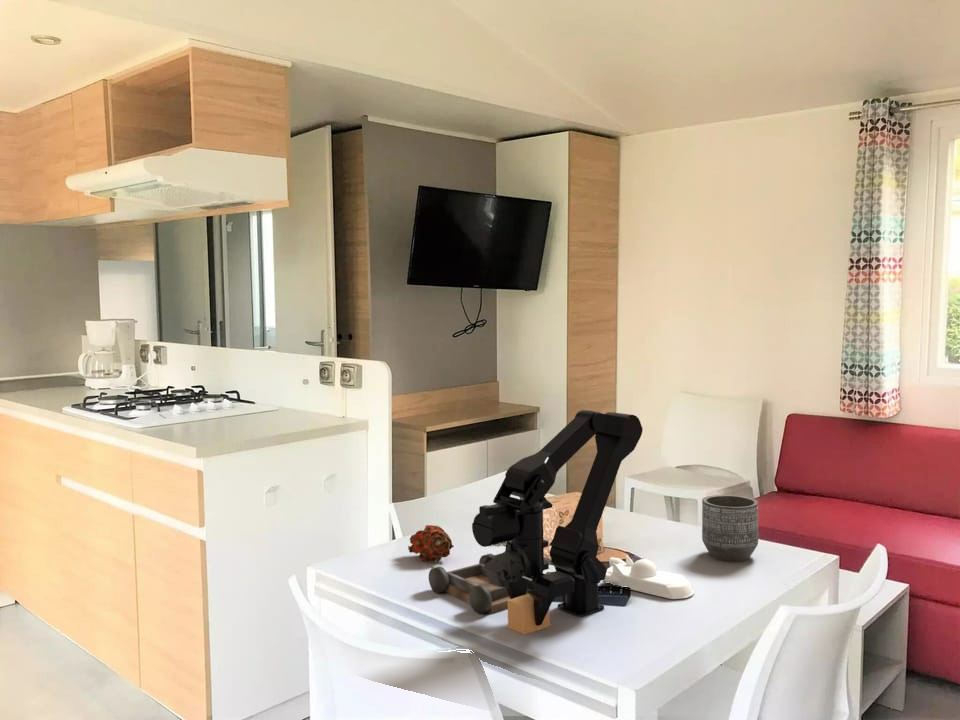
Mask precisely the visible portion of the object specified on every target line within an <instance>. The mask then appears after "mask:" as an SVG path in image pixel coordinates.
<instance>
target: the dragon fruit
mask: <svg viewBox="0 0 960 720" xmlns="http://www.w3.org/2000/svg"><path fill="white" fill-rule="evenodd" d="M409 543H410V544H411V545H408V546H407V547H408V552H409V553H414V554H416V555H417V554H419V559H420V560H421V561H422V562H425V561H424V560H426V561H428V560H430V561H431V562H441V560H442V558H447V557H448V556H449V555H451V549H453V548H454V547H455V546H454V545H453V542H452V539H451V537H450V536H449V534H448V533H447V532H446V531H445V530H444V529H443V528H442V527H441V526H439V525H432V524H426V525H425V526H424V529H421V530H418V531H416V532H415V533H414V534H412V535H411V536H410V538H409Z"/></svg>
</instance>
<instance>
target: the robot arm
mask: <svg viewBox="0 0 960 720" xmlns="http://www.w3.org/2000/svg"><path fill="white" fill-rule="evenodd" d="M642 434H643V425H642V424H641V420H640V418H639V417H638V416H637V415H635V414H630V413H623V412H616V411H615V412H613V411H607V412H606V413H601V412H599V411H597V410H588V409H582V410H579V411H577V412H576V413H575V415H574V418H573V419H572V420H571V421H570V422H569V423H568V424H566V426H564V427H563V428H562V429H561V430H560V431H559V432H558V433H557V434H555V436H554V437H553V438H552V439H550V440H549V442H547V443H546V444H545V446H543V447H542V448H541V449H540V450H539V451H538V452H535V453H534V454H532V455H531V454H530V455H529V456H526V457H523V458H521V459H520V460H518V461H516V462H515V463H513V464H512V465H511V466H509V468H508V469H507V470H506V472H505V475H504V479H503V481H502V483H501V485H500V487H499V489H498V491H497V493H496V494H495V497H494V499H493V501H492V502H493V504H490V505H487V504H486V505H481V506H479V508H478V509H479V513H477V514H476V515H475V516H474V518H473V521H472V524H471V528H472V535H473V537H474V540H475V541H476V543H478V545H479V546H480V547H484V548H485V547H491V546H494V545H497V544H498V545H499V544H502V543H505V548H504V549H505V550H504V551H503V552H501V553H497V554H493V556H489V557H488V558H487V560H486V561H485V565H484V568H485V572H486V574H487V577H488V579H489V582H490V583H494V584H497V585H498V586H499V587H506V589H507V591H508V594H509V596H510V599H513V598H516V597H520V596H523V595H526V591H527V584H528V580H531V581H533V582H535V589H534V590H531V591H528V594H529V595H530V596H531V597H532V598H533V602H534V615H535V623H536V625H537V626H539V625H541V624H542V623H543V620H544V618H545V616H546V614H547V612H548V610H549V611H550V607H551V606H552V604H553V602H554V600H555V598H559V597H561V596H562V602H561V603H558V604H557V608H558V609H561V610H563V611H566V612H567V613H570V614H573V615H575V616H577V617H584V616H586V615H590V614H593V613H595V612H598V611H601V610H604V609H605V605H603V604H600V603H599V584H600V583H601V582H602V581H601V580H604V579H605V576H606V572H607V569H608V568H607V567H606V565H605V564H603V562H602V561H601V560H599V558H598V557H597V555H598V551H599V548H600V547H599V541H598V535H597V529H598V526H599V524H600V521H601V518H602V515H603V513H604V511H605V508H606V505H607V502H608V499H609V496H610V494H611V491H612V488H613V486H614V483H615V480H616V477H617V475H618V473H619V472H618V471H619V469H620V466H621V464H622V461H624V459H626V458H627V457H629V455H631V453H632V452H633V451H635V449H636V447H637V445H638V443H639V441H640V439H641V437H642ZM593 437H594V439H595V446H596V447H595V448H596V455H595V456H594V459H593V463H592V465H591V468H590V471H589V473H588V476H587V479H586V482H585V484H584V487H583V489H582V492H581V495H580V497H579V500H578V503H577V505H576V508H575V510H574V513H573V516H572V518H571V520H570V521H569V522H568V523H567V524H566V525H565V526H562V525H557V527H556V529H555V531H554V536H553V538H552V539H551V540H552V541H551V542H549V540H547V539H544V510H547V509H551V508H553V504H552V503H551V502H550V501H549V500H548V499H547V498H546V495H547V494H548V492H550V490H551V488H552V487H553V486H554V484H555V482H556V478H557V474H558V472H559V471H560V470H561V468H563V467H564V465H566V463H568V461H569V460H571V459H572V458H573V457H574V456H575V455H576V454H577V453H578V452H579V451H580V450H581V449H582V448H583V447H584V446H585V445H586V444H587V443H588V442H589V441H590V440H591V439H592V438H593ZM513 496H514V497H513ZM520 498H522V499H520ZM549 546H550V550H549V557H550V560H551V563H552V564H553V567H554V569H555V571H551V572H548V573H544V571H546V570H549V569H550V565H549V563H548V562H546V561H545V560H544V559H545V558H544V557H545V556H544V555H545V554H544V553H545V552H544V549H545V548H547V547H549Z"/></svg>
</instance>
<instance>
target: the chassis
mask: <svg viewBox="0 0 960 720" xmlns="http://www.w3.org/2000/svg"><path fill="white" fill-rule="evenodd" d="M493 555H494V554H493V553H487V554H484V555H481V556H480V557H479V561H478V563H477V564H473V565H469V566H466V567H461V568H458V569H454V570H450V571H446V569H445V568H444V567H443V566H436V567H432V568H430V570H429V572H428V582H429V586H430V589H431V590H432V591H433V592H434V593H436V594H440V593H444V592H445V593H447V594H449V595H451V596H453V597H455V598H458V599H460V600H462V601H464V602H466V603H468V604H470V606H471V608H472V609H473V611H474V612H475V613H477V614H483V613H486V612H487V613H490V614H495V613H497V612H502V611H505V610H508V600H510V596H509V594H508V591H507V589H506V587H499V586H498V585H497V584H494V583H490V582H489V579H488V577H487V574H486V572H485V568H484V565H485V561H486V560H487V558H488V557H489V556H493ZM527 588H529V589H531V590H534V589H535V582H533V581H531V580H528V584H527ZM531 590H530V591H531ZM528 591H529V590H527V591H526V594H528Z"/></svg>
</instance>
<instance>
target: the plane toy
mask: <svg viewBox="0 0 960 720" xmlns="http://www.w3.org/2000/svg"><path fill="white" fill-rule="evenodd" d="M608 565H609V567H608V568H607V572H606V576H605V579H604V580H603V581H602V582H604V581H605V582H609V583H612V584H614V585H613V586H615V585H619V586H627V587H630V588H631V589H630V590H633V591H635V592H640V593H644V594H649V595H653V596H657V597H662V598H666V599H668V600H669V599H670V600H678V599H681V600H682V599H687V598H690V597H692V596H693V595H694V593H695V590H694V588H693V587H692V585H691V583H690V582H689V580H688V579H686V578H685V577H684V576H683V575H682V574H681V573H680V574H679V573H673V572H668V571H663V570H658V567H657V566H656V565H655V563H654V562H653V561H651V560H649V559H645V558H643V559H638V560H636V561H635V562H634V561H633V559H631V557H629V556H628V555H626V556H625V561H624V560H622V559H621V558H618V557H610V558H609V563H608ZM605 582H604V583H605ZM619 586H618V587H619Z"/></svg>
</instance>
